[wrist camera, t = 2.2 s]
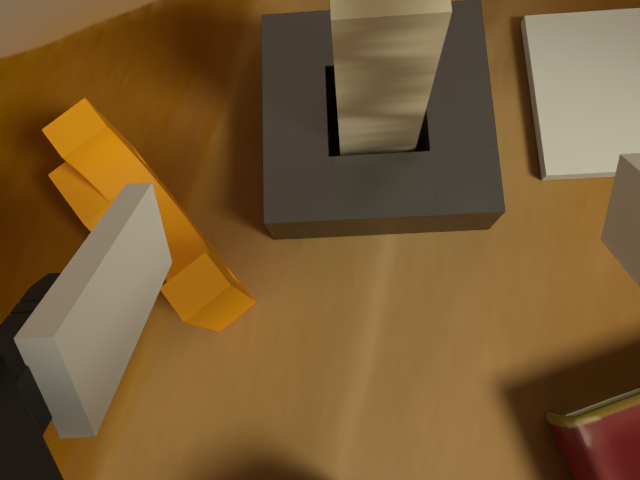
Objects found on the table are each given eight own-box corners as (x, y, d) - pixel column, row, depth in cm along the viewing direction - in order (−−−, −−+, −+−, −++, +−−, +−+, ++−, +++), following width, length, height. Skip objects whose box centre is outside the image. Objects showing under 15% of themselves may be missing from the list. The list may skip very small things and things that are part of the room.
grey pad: (691, 12, 33) (699, 3, 32) (725, 170, 31) (735, 165, 30) (520, 23, 33) (524, 15, 33) (541, 180, 31) (546, 175, 30)
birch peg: (406, 102, 33) (441, -90, 19) (410, 165, 32) (452, 11, 18) (338, 106, 33) (326, -81, 19) (341, 169, 32) (330, 20, 18)
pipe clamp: (77, 193, 33) (11, 151, 27) (135, 149, 33) (84, 97, 27) (194, 352, 30) (151, 348, 24) (256, 302, 31) (231, 285, 24)
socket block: (467, 37, 33) (480, -1, 30) (488, 229, 31) (505, 211, 27) (270, 50, 34) (261, 15, 31) (273, 239, 31) (263, 223, 28)
